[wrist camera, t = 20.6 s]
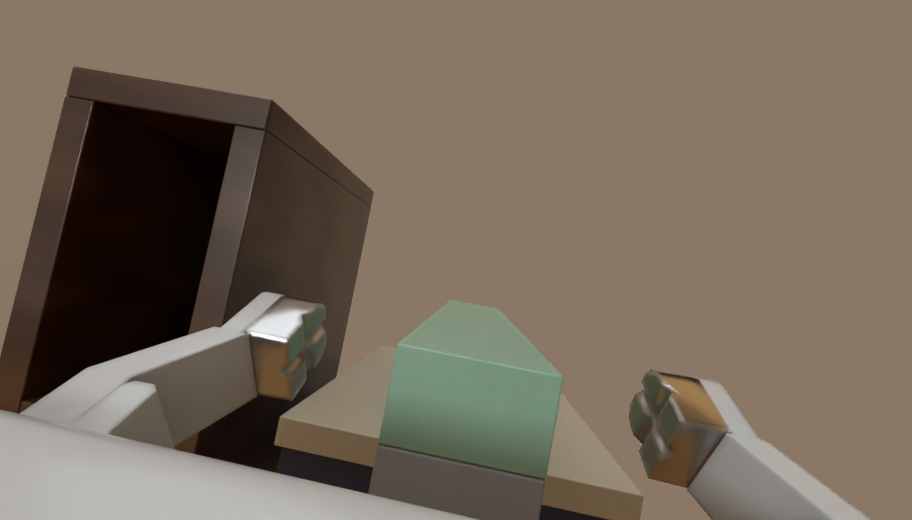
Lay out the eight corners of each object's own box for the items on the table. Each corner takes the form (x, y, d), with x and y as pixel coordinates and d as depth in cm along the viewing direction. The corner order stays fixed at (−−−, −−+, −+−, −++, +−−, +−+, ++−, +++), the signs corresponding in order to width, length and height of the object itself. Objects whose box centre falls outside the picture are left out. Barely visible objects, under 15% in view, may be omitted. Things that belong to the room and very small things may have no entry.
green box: (534, 552, 8) (564, 376, 9) (363, 513, 9) (397, 343, 9) (489, 357, 30) (498, 308, 31) (441, 347, 31) (450, 299, 31)
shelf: (107, 848, 12) (272, 98, 14) (-108, 784, 13) (71, 65, 14) (301, 547, 26) (374, 191, 28) (195, 522, 27) (271, 173, 28)
